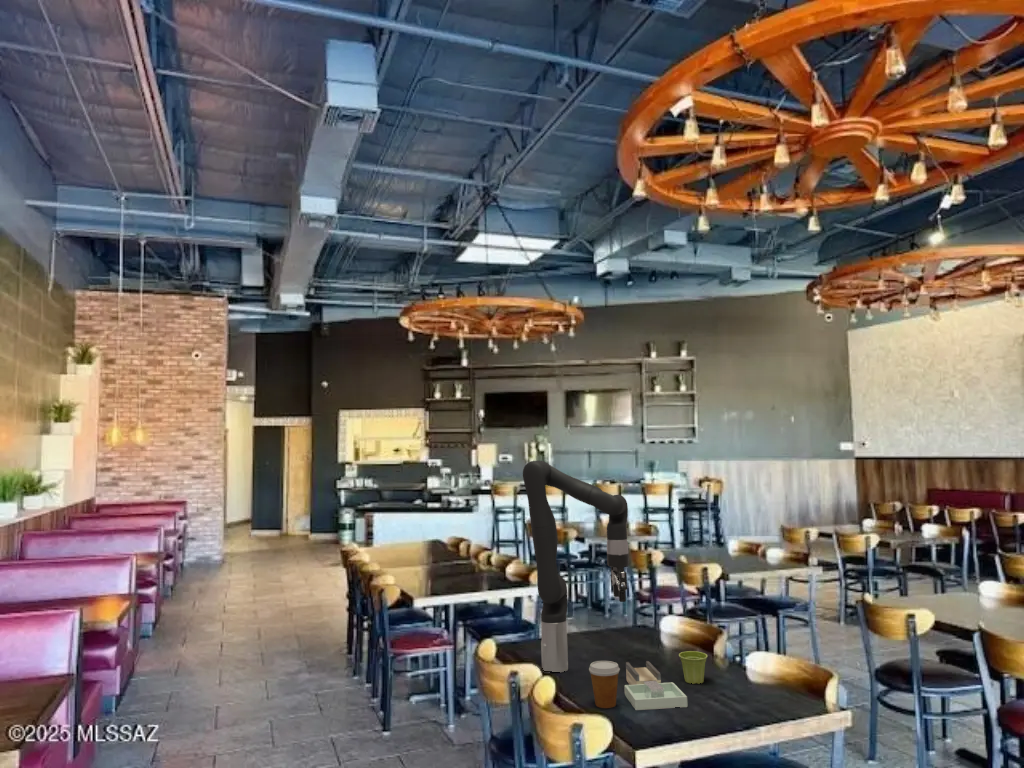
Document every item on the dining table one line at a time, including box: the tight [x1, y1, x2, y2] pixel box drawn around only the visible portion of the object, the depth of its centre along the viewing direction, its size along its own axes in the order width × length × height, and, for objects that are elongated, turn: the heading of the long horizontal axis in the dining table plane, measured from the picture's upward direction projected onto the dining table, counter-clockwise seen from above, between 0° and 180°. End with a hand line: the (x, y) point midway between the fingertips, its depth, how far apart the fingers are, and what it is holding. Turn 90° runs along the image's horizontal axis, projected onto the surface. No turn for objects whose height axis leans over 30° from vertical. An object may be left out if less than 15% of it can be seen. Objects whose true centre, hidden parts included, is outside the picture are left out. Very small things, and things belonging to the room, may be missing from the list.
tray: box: [623, 682, 688, 711], centre depth 225 cm, size 16×14×3 cm
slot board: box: [625, 660, 662, 685], centre depth 239 cm, size 8×14×6 cm, turn 5°
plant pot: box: [678, 650, 708, 685], centre depth 242 cm, size 9×9×9 cm
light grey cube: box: [644, 681, 660, 698], centre depth 227 cm, size 4×4×4 cm
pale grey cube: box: [647, 685, 664, 698], centre depth 223 cm, size 4×4×4 cm
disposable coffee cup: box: [588, 660, 621, 709], centre depth 223 cm, size 10×10×12 cm
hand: (619, 599), depth 253 cm, fingers open, 8 cm apart
